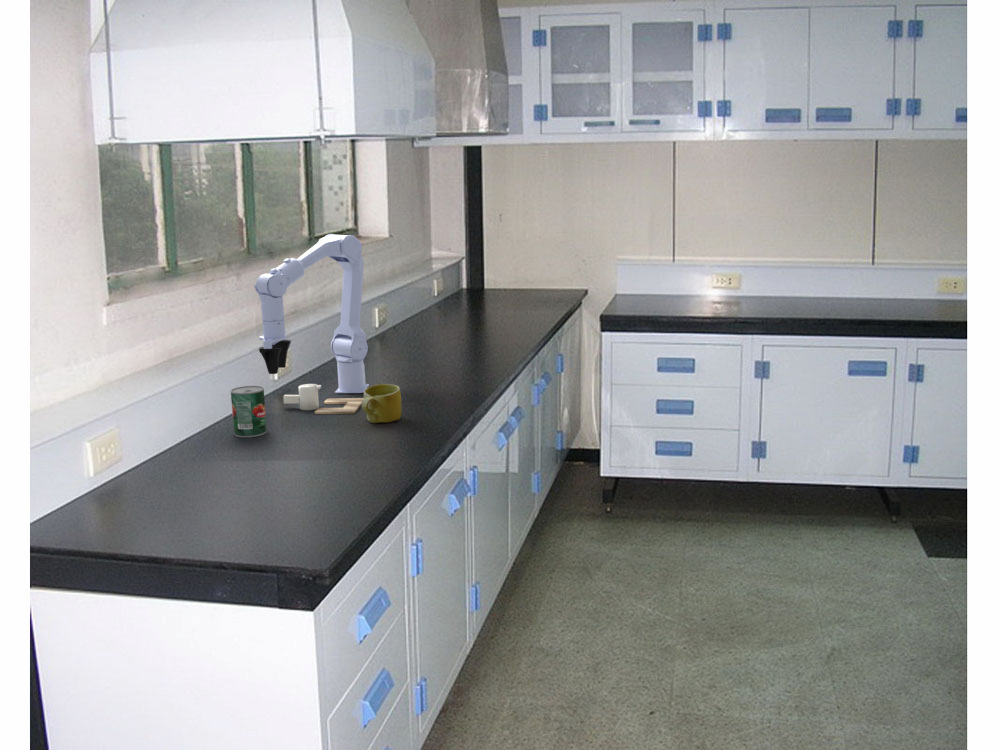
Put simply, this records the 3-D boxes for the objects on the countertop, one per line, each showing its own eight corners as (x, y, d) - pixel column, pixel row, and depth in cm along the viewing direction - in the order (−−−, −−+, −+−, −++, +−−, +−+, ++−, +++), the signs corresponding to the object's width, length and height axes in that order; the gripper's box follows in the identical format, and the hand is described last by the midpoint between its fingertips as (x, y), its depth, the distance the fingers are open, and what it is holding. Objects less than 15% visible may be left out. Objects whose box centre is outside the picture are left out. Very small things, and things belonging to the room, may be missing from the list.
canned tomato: (232, 431, 254) (228, 387, 252) (264, 427, 257) (261, 384, 254) (236, 439, 247) (232, 394, 244) (269, 435, 249) (266, 390, 247)
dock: (327, 400, 282) (327, 398, 282) (364, 400, 282) (364, 398, 281) (314, 414, 268) (314, 411, 268) (354, 413, 268) (354, 411, 267)
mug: (382, 404, 269) (383, 372, 263) (410, 421, 263) (411, 388, 258) (346, 422, 261) (347, 389, 255) (374, 440, 255) (375, 407, 250)
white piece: (324, 405, 277) (322, 383, 276) (318, 410, 272) (317, 388, 271) (288, 405, 278) (286, 383, 277) (282, 410, 274) (280, 388, 272)
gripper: (266, 315, 278) (269, 365, 281) (250, 324, 264) (254, 376, 267) (291, 315, 278) (295, 364, 280) (277, 324, 263) (281, 376, 266)
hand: (277, 370), depth 274 cm, fingers open, 7 cm apart
